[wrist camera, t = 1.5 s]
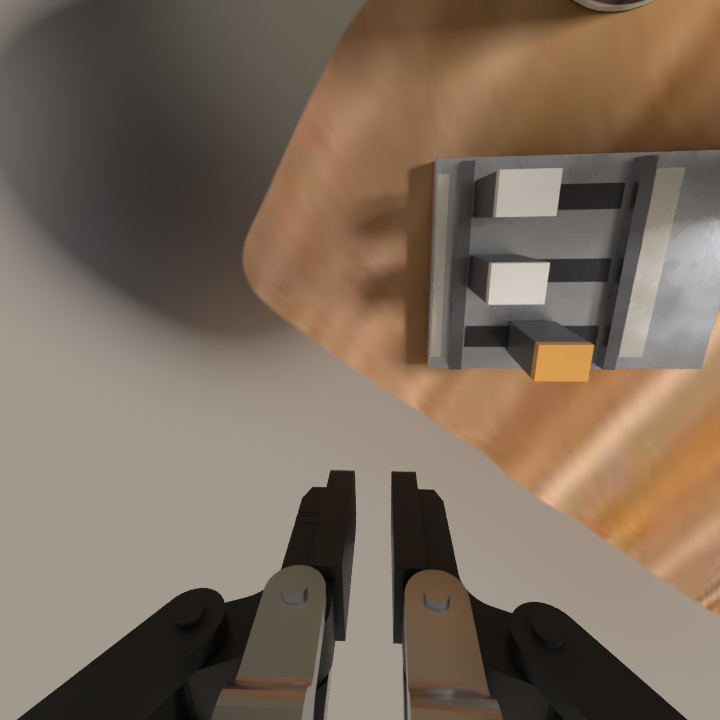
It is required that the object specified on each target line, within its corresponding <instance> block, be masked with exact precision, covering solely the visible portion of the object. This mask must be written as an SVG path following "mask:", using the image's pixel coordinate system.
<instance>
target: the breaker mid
mask: <svg viewBox="0 0 720 720" xmlns="http://www.w3.org/2000/svg"><path fill="white" fill-rule="evenodd" d="M549 268H550V263H549V262H545V261H542V260H538V259H534V258H530V257H526V256H522V255H519V254H503V255H471V262H470V276H469V289H470V290H471V291H472V292H473V293H475V294H476V295H477V296H478V297H479V298H481V299H482V300H483V301H484V302H485V303H487V304H488V305H522V304H545V297H546V290H547V282H548V275H549Z"/></svg>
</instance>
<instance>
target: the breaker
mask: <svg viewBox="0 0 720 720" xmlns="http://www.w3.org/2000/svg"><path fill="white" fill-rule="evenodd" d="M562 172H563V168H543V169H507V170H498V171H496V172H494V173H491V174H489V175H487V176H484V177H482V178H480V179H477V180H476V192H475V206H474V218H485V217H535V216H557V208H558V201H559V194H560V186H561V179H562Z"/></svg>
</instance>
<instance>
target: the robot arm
mask: <svg viewBox="0 0 720 720" xmlns="http://www.w3.org/2000/svg"><path fill="white" fill-rule="evenodd" d="M391 477H392V479H391V483H392V484H391V547H392V596H393V597H392V598H393V643H399V644H402V650H403V714H404V715H403V716H404V720H687V719H686V718H685V717H684V716H682V715H681V714H680V713H679V712H678V711H677V710H676V709H674V708H673V707H672V706H671V705H670V704H669V703H667V702H666V701H665V700H664V699H663V698H662V697H661V696H660V695H658V694H657V693H656V692H655V691H654V690H653V689H651V688H650V687H649V686H648V685H647V684H646V683H645V682H643V681H642V680H641V679H640V678H639V677H638V676H637V675H636V674H634V673H633V672H632V671H631V670H630V669H629V668H628V667H626V666H625V665H624V664H623V663H622V662H621V661H619V660H618V659H617V658H616V657H615V656H614V655H613V654H611V653H610V652H609V651H608V650H607V649H606V648H605V647H604V646H602V645H601V644H600V643H599V642H598V641H597V640H596V639H594V638H593V637H592V636H591V635H590V634H589V633H587V632H586V631H585V630H584V629H583V628H582V627H581V626H580V625H578V624H577V623H576V622H575V621H574V620H573V619H572V618H570V617H569V616H568V615H567V614H565V613H564V612H562V611H561V610H559V609H557V608H555V607H553V606H551V605H548V604H545V603H540V602H528V603H524V604H522V605H520V606H518V607H517V608H516V609H515V610H514V612H513V613H510V612H506V611H504V610H501V609H498V608H495V607H492V606H489V605H487V604H484V603H483V602H481V601H479V600H478V599H476V598H475V597H474V596H472V595H471V594H470V593H469V592H468V591H467V590H466V588H465V587H464V585H463V584H462V582H461V580H460V577H459V574H458V570H457V565H456V560H455V555H454V550H453V545H452V541H451V536H450V531H449V526H448V521H447V518H446V512H445V507H444V502H443V500H442V499H441V498H440V497H439V496H438V494H437V493H436V492H435V491H434V490H424V489H422V490H421V489H418V487H417V479H416V472H395V471H392V475H391ZM355 529H356V495H355V471H343V470H342V471H341V470H331V471H330V475H329V479H328V483H327V487H312V488H311V489H310V490H309V492H308V493H307V494H306V495H305V496H304V497H303V498H302V501H301V504H300V508H299V511H298V515H297V517H296V521H295V526H294V528H293V531H292V534H291V538H290V541H289V544H288V548H287V551H286V555H285V558H284V561H283V565H282V568H281V570H280V571H278V572H277V573H275V574H274V575H273V576H272V577H271V578H270V579H269V581H268V582H267V584H266V586H265V588H264V590H262V591H261V592H259V593H257V594H255V595H252V596H249V597H246V598H242V599H238V600H234V601H230V602H226V603H224V599H223V598H222V596H221V595H220V594H219V593H218V592H217V591H215V590H212V589H208V588H198V589H193V590H189V591H187V592H184V593H182V594H180V595H179V596H177V597H175V598H174V599H173V600H171V601H170V602H169V603H167V604H166V605H165V606H163V607H162V608H161V609H160V610H158V611H157V612H156V613H154V614H153V615H152V616H151V617H149V618H148V619H147V620H145V621H144V622H143V623H141V624H140V625H139V626H137V627H136V628H135V629H134V630H132V631H131V632H130V633H128V634H127V635H126V636H125V637H123V638H122V639H121V640H119V641H118V642H117V643H115V644H114V645H113V646H112V647H110V648H109V649H108V650H107V651H105V652H104V653H103V654H101V655H100V656H99V657H97V658H96V659H95V660H94V661H92V662H91V663H90V664H88V665H87V666H86V667H84V668H83V669H82V670H81V671H79V672H78V673H77V674H75V675H74V676H73V677H71V678H70V679H69V680H68V681H66V682H65V683H64V684H62V685H61V686H60V687H59V688H57V689H56V690H55V691H54V692H52V693H51V694H49V695H48V696H47V697H46V698H44V699H43V700H42V701H40V702H39V703H38V704H36V705H35V706H34V707H33V708H31V709H30V710H29V711H28V712H26V713H25V714H24V715H22V716H21V717H20V718H18V719H17V720H327V710H328V701H329V691H330V681H331V666H332V662H333V655H334V646H335V641H345V637H346V628H347V617H348V607H349V596H350V585H351V575H352V564H353V554H354V543H355V532H356V530H355Z"/></svg>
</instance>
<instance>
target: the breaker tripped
mask: <svg viewBox="0 0 720 720" xmlns="http://www.w3.org/2000/svg"><path fill="white" fill-rule="evenodd" d="M593 350H594V344H592V343H590V342H589V341H587V340H585V339H584V338H582V337H580V336H579V335H577V334H575V333H574V332H572V331H570V330H569V329H567V328H565V327H564V326H562V325H560V324H559V323H557V322H510V331H509V340H508V349H507V352H508V353H509V355H510V356H511V357H512V358H513V359H514V360H515V361H516V362H517V363H518V364H519V365H520V367H521V368H522V369H523V370H524V371H525V372H526V373H527V374H528V375H529V376H530V377H531V378H532V380H533V381H584V382H588V377H589V371H590V366H591V360H592V355H593Z"/></svg>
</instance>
